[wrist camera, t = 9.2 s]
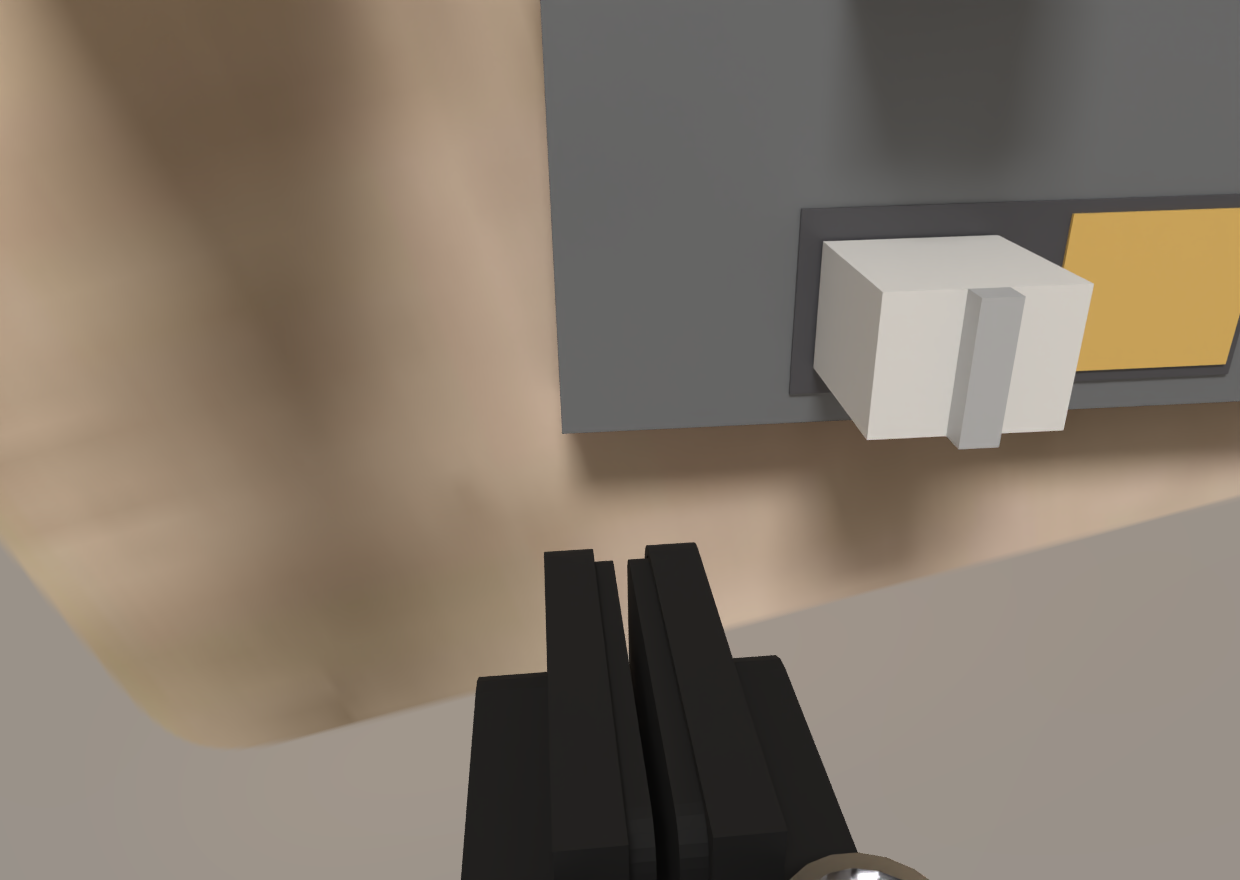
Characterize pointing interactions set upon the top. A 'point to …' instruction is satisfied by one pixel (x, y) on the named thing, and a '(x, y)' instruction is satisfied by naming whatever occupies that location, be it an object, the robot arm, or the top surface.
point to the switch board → (880, 186)
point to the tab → (948, 337)
